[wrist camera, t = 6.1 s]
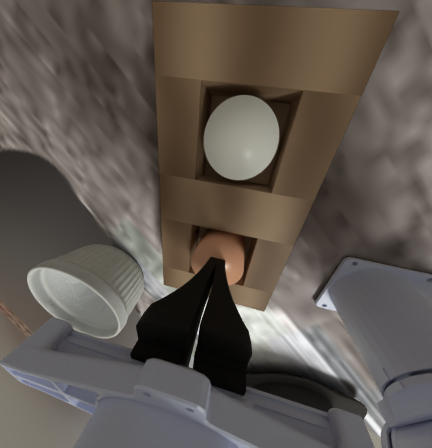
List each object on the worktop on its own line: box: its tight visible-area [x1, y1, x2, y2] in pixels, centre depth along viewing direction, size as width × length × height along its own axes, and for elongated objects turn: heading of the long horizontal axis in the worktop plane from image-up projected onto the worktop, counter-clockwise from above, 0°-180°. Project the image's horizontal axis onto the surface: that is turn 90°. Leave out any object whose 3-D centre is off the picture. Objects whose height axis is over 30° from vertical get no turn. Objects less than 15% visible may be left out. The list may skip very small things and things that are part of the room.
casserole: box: [246, 373, 367, 419], centre depth 28 cm, size 25×19×8 cm
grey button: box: [204, 95, 279, 180], centre depth 11 cm, size 5×5×4 cm
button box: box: [152, 1, 399, 311], centre depth 14 cm, size 12×22×4 cm, turn 172°
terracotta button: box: [191, 228, 245, 286], centre depth 15 cm, size 5×5×4 cm
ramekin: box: [27, 244, 144, 338], centre depth 23 cm, size 13×13×7 cm
